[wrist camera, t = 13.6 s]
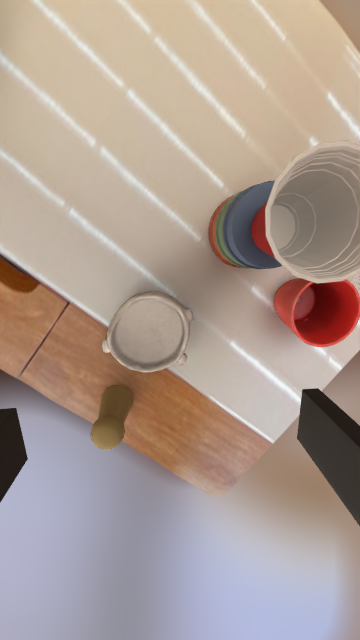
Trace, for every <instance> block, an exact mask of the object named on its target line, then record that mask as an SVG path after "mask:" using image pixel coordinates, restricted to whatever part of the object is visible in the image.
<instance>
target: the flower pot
mask: <svg viewBox="0 0 360 640" xmlns="http://www.w3.org/2000/svg"><path fill="white" fill-rule="evenodd" d="M274 307H275V310H276V312H277V314H278V315H279V317H280V318H281V319H282V320H283V321H284V323H285V324H286V325H287V326H288V327H289V328H290V329H291V330H292V331H293V332H294V333H295V334H296V335H297V336H298V337H299V338H300V339H301V340H302V341H303V342H305V343H307V344H309V345H311V346H316V347H327V346H331V345H334V344H336V343H338V342H340V341H342V340H343V339H345V338H346V337H347V336H348V335H349V334H350V333H351V332H352V331H353V329H354V328H355V326H356V324H357V322H358V320H359V317H360V297H359V294H358V292H357V290H356V288H355V287H354V286H353V285H352V284H351V283H350V282H349V281H348V280H346V279H345V280H343V281H337V282H327V283H314V282H311V281H308V280H305V279H302V278H299V279H294V280H290V281H288V282H286V283H284V284H283V285H282V286H281V287H280V288H279V289H278V291H277V293H276V295H275V299H274Z"/></svg>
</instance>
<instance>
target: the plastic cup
mask: <svg viewBox="0 0 360 640" xmlns="http://www.w3.org/2000/svg"><path fill="white" fill-rule="evenodd" d="M251 233H252V237H253V240H254V242H255V244H256V245H257V246H258V247H259V248H260V249H261V250H262V251H264V252H266V253H267V254H268V255H269V256H271V257H273V258H275V259H276V260H277V261H278V262H280V263H281V264H282V265H283V266H284V267H285V268H286V269H287V270H288V271H289V272H291V273H292V274H293V275H294V276H296V277H299V278H302V279H305V280H308V281H311V282H314V283H327V282H337V281H343V280H345V279H347V278H349V277H351V276H353V275H355V274H357V273H359V272H360V145H357V144H355V143H352V142H349V141H339V142H329V143H319V144H318V145H316V146H314V147H312V148H310V149H309V150H307V151H305V152H303V153H302V154H300V155H298V156H296V157H294V158H293V160H292V161H291V162H290V163H289V164H288V166H287V167H286V168H285V169H284V170H283V172H282V173H281V174H280V175H279V176H278V178H277V179H276V180H275V182H274V185H273V188H272V191H271V194H270V197H269V199H268V200H267V202H266V203H265V204H264V205H263V206H262V207H261V208H260V210H259V211H258V212H257V213H256V214H255V217H254V220H253V222H252V225H251Z"/></svg>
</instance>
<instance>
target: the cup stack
mask: <svg viewBox="0 0 360 640" xmlns="http://www.w3.org/2000/svg"><path fill="white" fill-rule="evenodd" d="M274 182H275V181H268V182H264V183H261V184H258V185H254V186H252V187H250V188H248V189H246V190H244V191H242V192H239V193H238V194H236V195H234V196H231V197H230V198H228V199H227V200H225V201H224V202H223V203H221V204H220V205H219V207H218V208H217V209H216V210H215V212H214V214H213V216H212V218H211V221H210V225H209V241H210V245H211V247H212V249H213V251H214V253H215V254H216V256H217V257H218V258H219V259H220V260H221V261H223V262H224V263H226V264H228V265H231V266H234V267H239V268H254V269H266V268H276V267H280V266H283V265H282V264H281V263H280V262H278V261H277V260H276V259H275V258H273V257H271V256H269V255H268V254H267V253H266V252H264V251H262V250H261V249H260V248H259V247H258V246H257V245H256V244H255V242H254V240H253V237H252V233H251V225H252V222H253V220H254V217H255V214H256V213H257V212H258V211H259V210H260V208H261V207H262V206H263V205H264V204H265V203H266V202H267V200H268V199H269V197H270V194H271V191H272V188H273V185H274Z"/></svg>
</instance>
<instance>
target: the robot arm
mask: <svg viewBox="0 0 360 640" xmlns="http://www.w3.org/2000/svg"><path fill="white" fill-rule="evenodd" d="M297 439H298V440H299V442H300V443H301V444H302V446H303V447H304V448H305V450H306V451H307V453H308V454H309V456H310V457H311V458H312V460H313V461H314V463H315V464H316V465H317V467H318V468H319V470H320V471H321V472H322V474H323V475H324V477H325V478H326V479H327V481H328V482H329V484H330V485H331V486H332V488H333V489H334V491H335V492H336V493H337V495H338V496H339V498H340V499H341V500H342V502H343V503H344V505H345V506H346V507H347V509H348V510H349V512H350V513H351V514H352V516H353V517H354V519H355V520H356V521H357V523H358V524H359V526H360V426H359V425H358V424H357V423H356V422H355V421H354V420H353V419H351V418H350V417H349V416H348V415H347V414H346V413H345V412H344V411H343V410H341V409H340V408H339V407H338V406H337V405H336V404H335V403H334V402H333V401H331V400H330V399H329V398H328V397H327V396H326V395H325V394H324V393H323V392H321V391H320V390H319V389H303V390H302V399H301V408H300V417H299V426H298V435H297ZM27 459H28V458H27V455H26V449H25V445H24V441H23V436H22V432H21V428H20V423H19V419H18V414H17V410H16V408H10V409H0V502H1V500H2V499H3V497H4V496H5V494H6V493H7V491H8V489H9V488H10V486H11V485H12V483H13V481H14V480H15V478H16V476H17V475H18V473H19V472H20V470H21V468H22V467H23V466H24V464H25V462H26V461H27Z"/></svg>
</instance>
